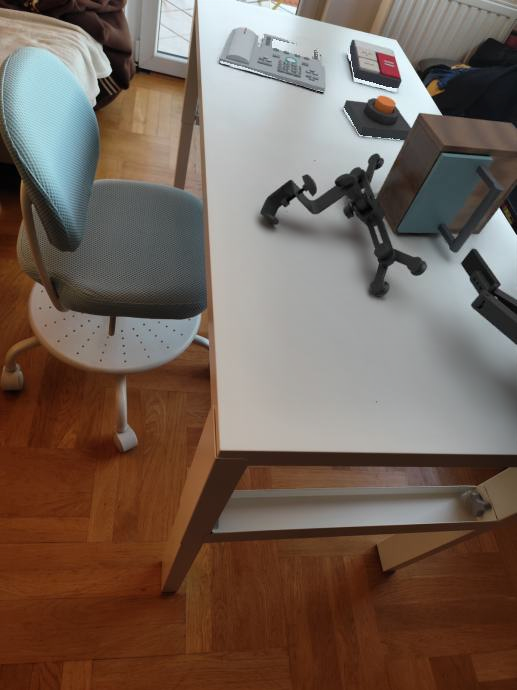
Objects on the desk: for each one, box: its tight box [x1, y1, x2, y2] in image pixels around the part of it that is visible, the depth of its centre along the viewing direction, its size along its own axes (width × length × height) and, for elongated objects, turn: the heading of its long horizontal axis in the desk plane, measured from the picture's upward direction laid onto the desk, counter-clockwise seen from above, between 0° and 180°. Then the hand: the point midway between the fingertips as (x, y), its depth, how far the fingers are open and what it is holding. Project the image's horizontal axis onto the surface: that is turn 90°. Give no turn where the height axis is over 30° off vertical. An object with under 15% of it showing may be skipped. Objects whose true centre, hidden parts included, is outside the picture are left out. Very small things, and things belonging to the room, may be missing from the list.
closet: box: [375, 112, 517, 235], centre depth 80 cm, size 18×8×16 cm, turn 104°
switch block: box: [343, 97, 412, 141], centre depth 101 cm, size 12×10×4 cm
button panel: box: [349, 39, 402, 89], centre depth 117 cm, size 11×4×15 cm
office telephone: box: [218, 27, 327, 93], centre depth 109 cm, size 23×3×20 cm
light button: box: [374, 95, 397, 114], centre depth 99 cm, size 4×4×2 cm
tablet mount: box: [259, 152, 428, 297], centre depth 73 cm, size 27×14×17 cm
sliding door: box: [397, 153, 504, 254], centre depth 74 cm, size 9×7×14 cm
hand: (506, 255), depth 68 cm, fingers open, 13 cm apart
